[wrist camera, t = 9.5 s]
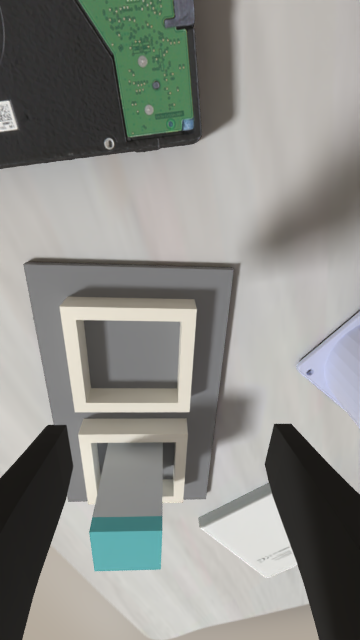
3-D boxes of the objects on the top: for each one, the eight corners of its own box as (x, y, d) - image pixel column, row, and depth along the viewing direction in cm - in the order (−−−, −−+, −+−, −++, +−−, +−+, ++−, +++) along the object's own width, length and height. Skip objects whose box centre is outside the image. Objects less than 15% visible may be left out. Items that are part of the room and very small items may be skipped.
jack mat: (205, 493, 27) (205, 499, 27) (69, 496, 27) (68, 501, 26) (232, 267, 18) (233, 269, 18) (26, 262, 17) (23, 264, 17)
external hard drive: (270, 474, 28) (326, 535, 32) (197, 512, 29) (260, 563, 34) (276, 492, 26) (334, 552, 31) (199, 529, 28) (265, 581, 33)
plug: (161, 469, 25) (160, 569, 19) (112, 469, 25) (94, 571, 18) (162, 433, 23) (162, 530, 17) (110, 433, 23) (89, 532, 17)
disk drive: (-75, 184, 16) (200, 144, 16) (-121, 187, 14) (206, 139, 13) (-212, -110, 12) (173, -179, 11) (-318, -189, 9) (174, -281, 9)
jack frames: (182, 485, 26) (183, 502, 24) (92, 486, 25) (88, 504, 24) (194, 299, 18) (196, 309, 17) (67, 296, 18) (59, 306, 17)
